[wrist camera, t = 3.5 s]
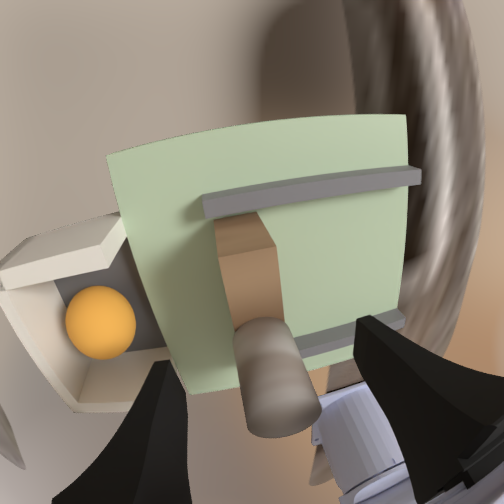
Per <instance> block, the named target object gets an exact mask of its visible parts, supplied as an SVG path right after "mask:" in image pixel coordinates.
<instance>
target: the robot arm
mask: <svg viewBox="0 0 504 504" xmlns="http://www.w3.org/2000/svg"><path fill="white" fill-rule="evenodd" d="M353 357H354V359H355V362H356V364H357V366H358V369H359V371H360V373H361V375H362V377H363V379H364V382H361V383H358V384H355V385H352V386H349V387H346V388H343V389H340V390H337V391H334V392H331V393H327V394H324V395H321V396H317V397H318V399H319V401H320V404H321V407H322V413H321V415H320V417H319V418H318V420H317V421H316V422H315V423H314V424H312V439H311V443H312V445H314V446H315V445H319V444H322V446H323V449H324V451H325V454H326V457H327V460H328V462H329V465H330V468H331V470H332V473H333V476H334V478H335V481H336V483H337V485H338V487H339V488H340V489H341V490H342V492H343V494H344V495H343V496H341V497H339V501H340V504H504V377H501V376H496V375H491V374H487V373H483V372H479V371H476V370H473V369H470V368H466V367H464V366H461V365H458V364H456V363H453V362H451V361H448V360H446V359H444V358H442V357H440V356H438V355H436V354H434V353H432V352H430V351H428V350H426V349H424V348H423V347H421V346H419V345H417V344H416V343H414V342H412V341H411V340H409V339H407V338H406V337H404V336H402V335H401V334H399V333H398V332H396V331H395V330H393V329H392V328H390V327H388V326H387V325H385V324H384V323H382V322H381V321H379V320H378V319H376V318H375V317H373V316H371V315H367V316H363V317H360V318H357V319H356V327H355V338H354V347H353ZM187 428H188V413H187V402H186V393H185V390H184V388H183V386H182V384H181V382H180V380H179V378H178V376H177V374H176V372H175V370H174V368H173V365H172V363H171V361H170V359H169V360H162V361H155V362H154V363H153V365H152V367H151V369H150V371H149V373H148V375H147V377H146V379H145V381H144V383H143V385H142V387H141V389H140V391H139V393H138V395H137V397H136V399H135V401H134V403H133V405H132V407H131V408H130V410H129V412H128V414H127V416H126V417H125V419H124V421H123V422H122V424H121V425H120V427H119V429H118V430H117V432H116V433H115V435H114V436H113V438H112V439H111V440H110V442H109V443H108V444H107V446H106V447H105V448H104V450H103V451H102V452H101V453H100V455H99V456H98V457H97V458H96V459H95V461H94V462H93V463H92V464H91V465H90V466H89V467H88V468H87V469H86V470H85V471H84V472H83V473H82V474H81V476H79V477H78V478H77V479H76V480H75V481H74V482H73V483H72V484H70V485H69V486H68V487H67V488H66V489H64V490H63V491H62V492H60V493H59V494H58V495H57V496H55V497H54V498H52V504H192V499H191V494H190V486H189V479H188V470H187V432H188V431H187V430H188V429H187Z"/></svg>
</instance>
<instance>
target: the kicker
mask: <svg viewBox="0 0 504 504" xmlns="http://www.w3.org/2000/svg"><path fill="white" fill-rule="evenodd" d="M213 221H214V229H215V238H216V246H217V254H218V260H219V265H220V270H221V274H222V279H223V283H224V288H225V292H226V297H227V301H228V305H229V310H230V314H231V318H232V322H233V327H234V331H235V334H234V337H233V349H234V355H235V361H236V367H237V372H238V378H239V384H240V389H241V395H242V400H243V406H244V412H245V417H246V423H247V428H248V430H249V431H250V432H251V433H252V434H254V435H256V436H258V437H263V438H280V437H286V436H290V435H293V434H296V433H299V432H301V431H303V430H305V429H306V428H308V427H310V426H311V425H312V424H314V423H315V422H316V421H317V420H318V418H319V417H320V415H321V413H322V407H321V404H320V401H319V399H318V397H317V394H316V392H315V389H314V387H313V385H312V382H311V379H310V377H309V375H308V372H307V370H306V367H305V365H304V362H303V360H302V358H301V355H300V353H299V350H298V348H297V345H296V343H295V341H294V338H293V336H292V333H291V331H290V328H289V327H288V325H287V324H286V323H285V319H284V309H283V300H282V290H281V281H280V272H279V263H278V254H277V246H276V244H275V243H274V241H273V239H272V237H271V236H270V234H269V232H268V231H267V229H266V227H265V225H264V224H263V222H262V220H261V219H260V217H259V215H258V213H257V212H251V213H246V214H240V215H235V216H230V217H225V218H220V219H215V220H213Z"/></svg>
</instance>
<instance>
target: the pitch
mask: <svg viewBox="0 0 504 504" xmlns="http://www.w3.org/2000/svg"><path fill="white" fill-rule="evenodd" d="M106 160H107V164H108V168H109V172H110V176H111V180H112V184H113V189H114V193H115V196H116V200H117V204H118V207H119V212H116V213H112V214H108V215H104V216H100V217H97V218H93V219H89V220H85V221H82V222H79V223H75V224H72V225H68V226H64V227H61V228H58V229H54V230H52V231H48V232H45V233H42V234H38V235H35V236H32V237H29V238H26V239H25V240H23V241H22V242H21V243H20V244H19V245H18V246H16V247H15V248H14V249H13V250H12V251H11V252H10V253H9V254H7V255H6V256H5V257H4V258H3V259H2V260H1V261H0V306H1V308H2V310H3V311H4V313H5V315H6V317H7V319H8V321H9V322H10V324H11V326H12V328H13V329H14V331H15V333H16V334H17V336H18V338H19V339H20V341H21V342H22V344H23V346H24V347H25V349H26V350H27V352H28V353H29V355H30V356H31V358H32V359H33V361H34V362H35V364H36V365H37V367H38V368H39V369H40V371H41V372H42V373H43V375H44V376H45V377H46V379H47V380H48V381H49V383H50V384H51V386H52V387H53V388H54V389H55V391H56V392H57V393H58V394H59V396H60V397H61V398H62V399H63V401H64V402H65V403H66V404H67V405H68V407H69V408H70V409H71V410H72V411H73V412H74V413H114V412H129V410H130V408H131V407H132V405H133V403H134V401H135V399H136V397H137V395H138V393H139V391H140V389H141V387H142V385H143V383H144V381H145V379H146V377H147V375H148V373H149V371H150V369H151V367H152V365H153V363H154V362H155V361H162V360H169V359H170V361H171V363H172V365H173V368H174V370H175V372H176V371H177V369H178V371H179V373H180V375H181V377H182V380H183V382H184V384H185V386H186V388H187V390H188V392H189V394H190V395H192V394H199V393H206V392H212V391H218V390H224V389H230V388H235V387H240V384H239V378H238V372H237V367H236V361H235V355H234V349H233V337H234V334H235V331H234V327H233V322H232V318H231V314H230V310H229V305H228V301H227V297H226V292H225V288H224V283H223V279H222V274H221V270H220V265H219V260H218V254H217V246H216V238H215V229H214V221H213V220H215V219H220V218H225V217H230V216H235V215H240V214H246V213H251V212H257V213H258V215H259V217H260V219H261V220H262V222H263V224H264V225H265V227H266V229H267V231H268V232H269V234H270V236H271V237H272V239H273V241H274V243H275V244H276V246H277V254H278V263H279V272H280V281H281V290H282V300H283V309H284V319H285V323H286V324H287V325H288V327H289V328H290V331H291V333H292V336H293V338H294V341H295V343H296V345H297V348H298V350H299V353H300V355H301V358H302V360H303V362H304V365H305V367H306V370H307V371H310V370H314V369H317V368H321V367H324V366H328V365H331V364H335V363H338V362H341V361H345V360H348V359H351V358H354V357H353V347H354V338H355V327H356V319H357V318H360V317H363V316H367V315H371V316H373V317H375V318H376V319H378V320H379V321H381V322H382V323H384V324H385V325H387V326H388V327H390V328H392V329H393V330H397V329H400V328H403V327H404V324H405V320H406V317H405V316H404V315H403V314H402V313H401V312H400V311H399V310H398V309H397V304H398V298H399V291H400V284H401V276H402V268H403V259H404V249H405V237H406V223H407V202H408V186H411V185H419V184H421V169H418V168H415V167H412V166H409V165H408V147H407V126H406V115H398V114H353V115H329V116H314V117H301V118H290V119H282V120H272V121H264V122H257V123H249V124H242V125H235V126H229V127H223V128H218V129H212V130H206V131H201V132H196V133H191V134H186V135H181V136H177V137H173V138H168V139H164V140H160V141H155V142H151V143H147V144H143V145H140V146H136V147H132V148H129V149H125V150H121V151H118V152H115V153H112V154H109V155H106ZM91 286H106V287H110V288H112V289H114V290H116V291H118V292H119V293H121V294H122V295H123V296H124V297H125V298H126V299H127V300H128V302H129V303H130V305H131V307H132V309H133V311H134V315H135V319H136V330H135V335H134V338H133V341H132V343H131V344H130V346H129V347H128V348H127V350H126V351H124V352H123V353H122V354H121V355H119V356H117V357H115V358H112V359H107V360H99V359H94V358H91V357H88V356H86V355H85V354H83V353H82V352H80V351H79V350H78V349H77V348H76V347H75V346H74V344H73V343H72V341H71V340H70V338H69V336H68V333H67V329H66V323H65V318H66V312H67V308H68V305H69V303H70V302H71V300H72V298H73V297H74V296H75V295H76V294H77V293H78V292H80V291H81V290H83V289H85V288H87V287H91Z"/></svg>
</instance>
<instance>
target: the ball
mask: <svg viewBox="0 0 504 504" xmlns="http://www.w3.org/2000/svg"><path fill="white" fill-rule="evenodd" d="M65 323H66V329H67V333H68V336H69V338H70V340H71V341H72V343H73V344H74V346H75V347H76V348H77V349H78V350H79V351H80V352H82V353H83V354H85V355H86V356H88V357H91V358H94V359H99V360H107V359H112V358H115V357H117V356H119V355H121V354H122V353H123V352H124V351H126V350H127V348H128V347H129V346H130V344H131V343H132V341H133V338H134V335H135V330H136V319H135V315H134V311H133V309H132V307H131V305H130V303H129V302H128V300H127V299H126V298H125V297H124V296H123V295H122V294H121V293H119V292H118V291H116V290H114V289H112V288H110V287H106V286H91V287H87V288H85V289H83V290H81V291H80V292H78V293H77V294H76V295H75V296H74V297H73V298H72V300H71V302H70V303H69V305H68V308H67V312H66V318H65Z"/></svg>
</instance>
